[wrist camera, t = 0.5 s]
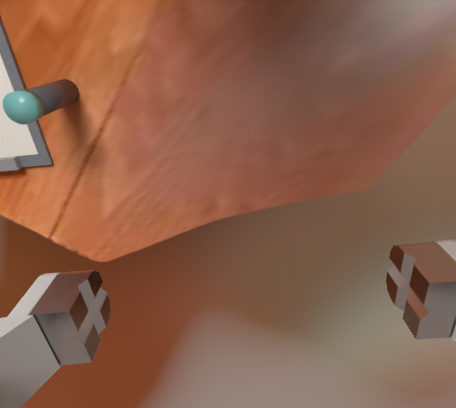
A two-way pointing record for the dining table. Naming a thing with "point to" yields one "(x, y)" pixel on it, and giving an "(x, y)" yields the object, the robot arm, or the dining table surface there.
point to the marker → (39, 101)
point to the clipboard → (11, 131)
